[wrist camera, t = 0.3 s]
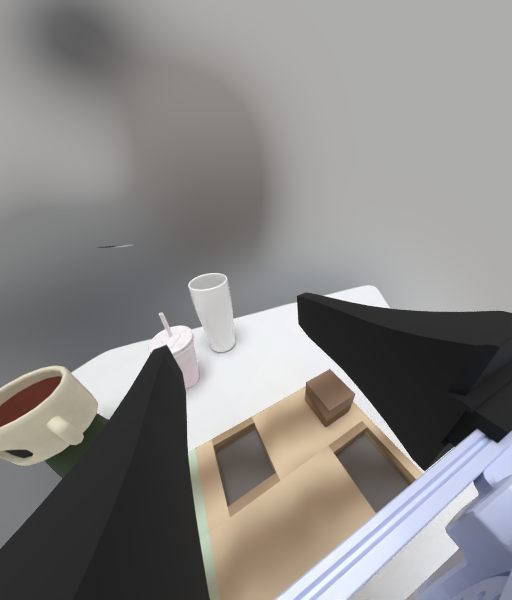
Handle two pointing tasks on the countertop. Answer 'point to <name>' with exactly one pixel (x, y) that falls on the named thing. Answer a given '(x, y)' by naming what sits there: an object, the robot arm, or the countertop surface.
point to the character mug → (47, 419)
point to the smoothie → (179, 349)
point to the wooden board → (288, 494)
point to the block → (328, 397)
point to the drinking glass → (214, 309)
